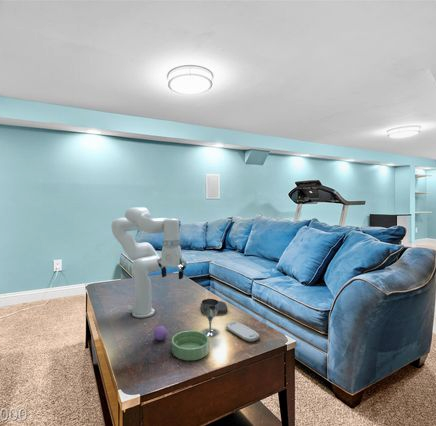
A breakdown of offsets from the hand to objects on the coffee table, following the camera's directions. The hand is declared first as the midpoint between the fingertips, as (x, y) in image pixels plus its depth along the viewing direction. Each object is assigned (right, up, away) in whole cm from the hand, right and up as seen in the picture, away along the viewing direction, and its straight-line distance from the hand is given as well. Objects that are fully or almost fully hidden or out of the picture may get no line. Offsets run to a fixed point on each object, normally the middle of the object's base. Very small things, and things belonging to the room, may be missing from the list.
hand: (172, 277), depth 134 cm
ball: (-5, -26, -11) cm, 28 cm away
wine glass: (+19, -25, -5) cm, 32 cm away
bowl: (+9, -26, -20) cm, 34 cm away
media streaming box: (+22, -24, +22) cm, 40 cm away
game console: (+34, -25, -6) cm, 43 cm away
